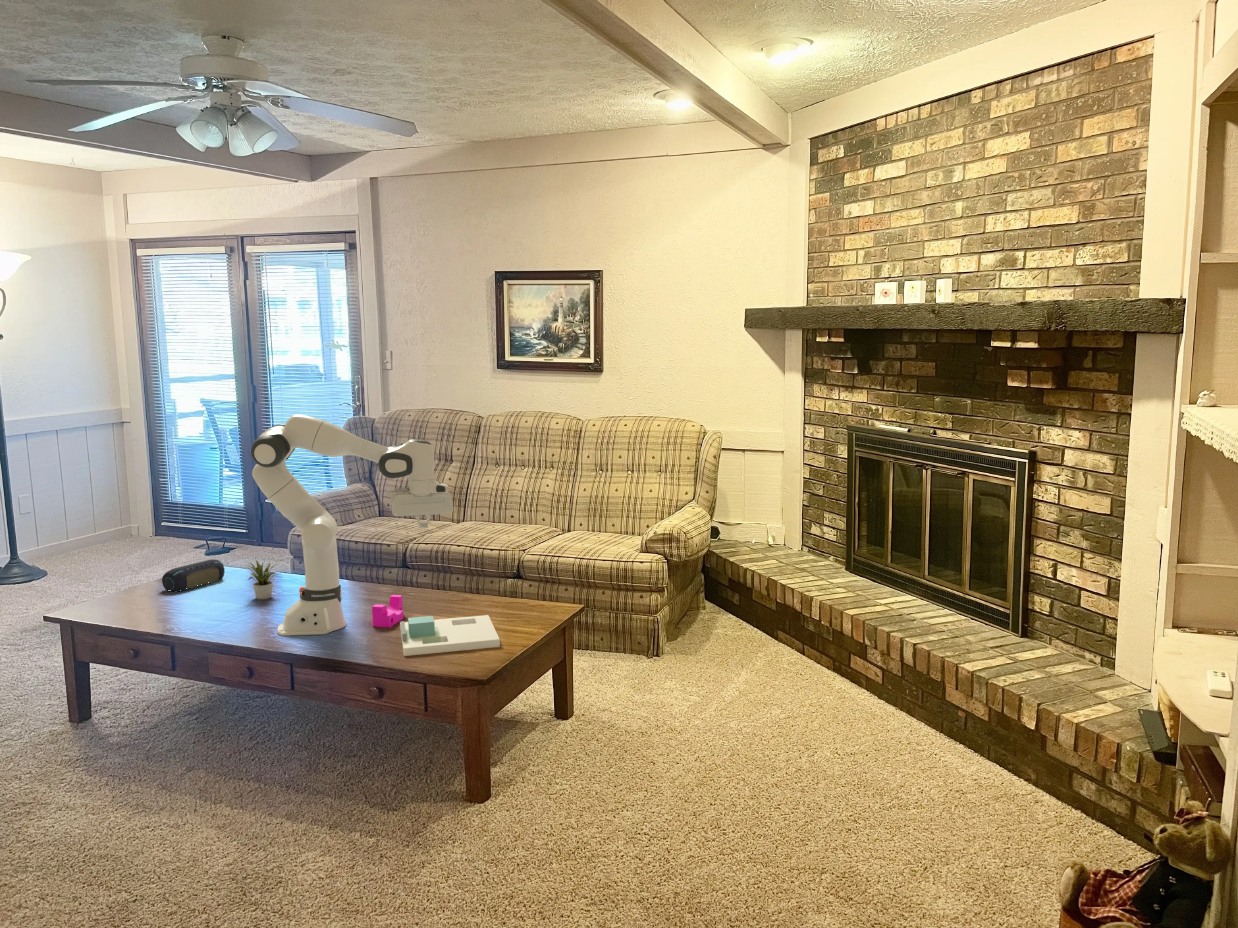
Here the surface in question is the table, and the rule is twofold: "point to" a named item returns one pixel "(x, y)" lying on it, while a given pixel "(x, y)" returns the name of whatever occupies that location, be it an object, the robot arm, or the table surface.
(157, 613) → the table surface
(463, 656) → the table surface
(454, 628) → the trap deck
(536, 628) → the table surface
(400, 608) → the toy block
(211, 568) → the portable speaker
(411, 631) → the teal block
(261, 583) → the house plant
